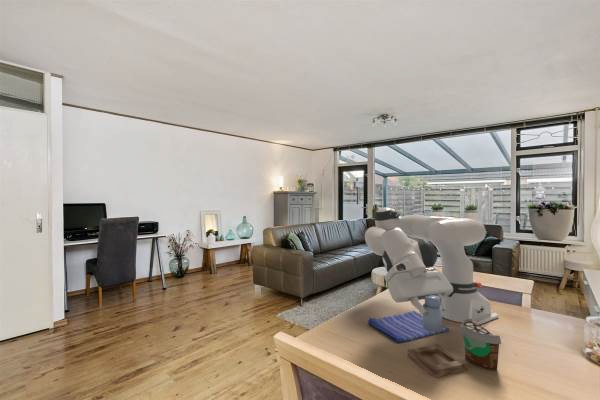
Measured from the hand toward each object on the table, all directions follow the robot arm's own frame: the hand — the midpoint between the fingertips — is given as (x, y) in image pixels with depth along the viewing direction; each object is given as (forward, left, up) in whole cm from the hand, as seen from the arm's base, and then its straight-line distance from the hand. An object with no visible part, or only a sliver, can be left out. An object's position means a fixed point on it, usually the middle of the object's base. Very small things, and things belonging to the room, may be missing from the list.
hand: (433, 312), depth 83 cm
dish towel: (-8, -22, -15) cm, 28 cm away
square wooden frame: (-1, 0, -15) cm, 15 cm away
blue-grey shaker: (0, -1, -5) cm, 5 cm away
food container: (-12, +3, -15) cm, 19 cm away
